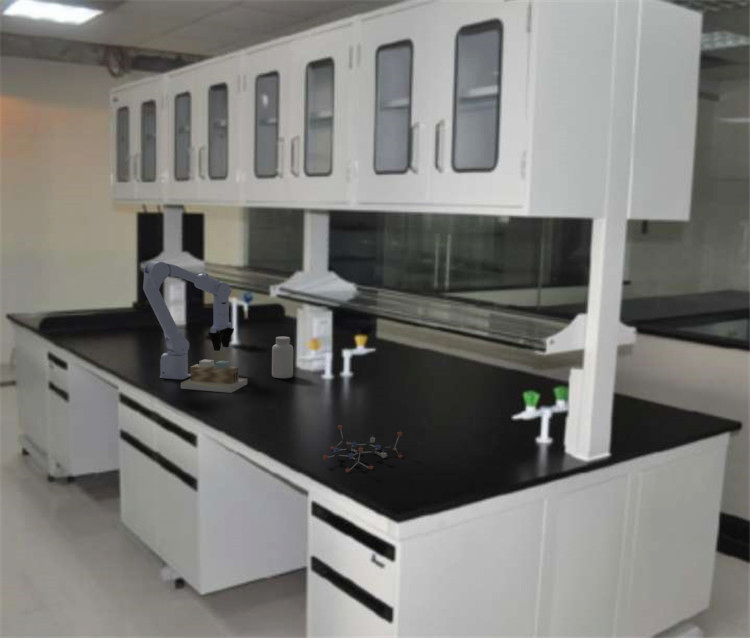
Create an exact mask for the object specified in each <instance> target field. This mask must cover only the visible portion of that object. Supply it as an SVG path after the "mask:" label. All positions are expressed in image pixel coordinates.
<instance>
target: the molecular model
mask: <svg viewBox="0 0 750 638" xmlns="http://www.w3.org/2000/svg"><path fill="white" fill-rule="evenodd" d="M337 428H338V429H337V430H340V434H341V441H340V442H339V443H338V444H335V446H333V445H334V444H332V443H331V446H330V447H329V449H330V451H333V453H334V454H333V455H329V456H328V455H327V454H326V452H324V454H323V455H322V460H328V458H332V457H335V458H339V457H348V459H350V460H352V459H353V460H354V462H355V464H354V465H352V467H351V468H349V467H347V468H345V473H350V472H351V470H352V469H353V468H354V467H355V466H356V465H357V464H361V465H362V466H364V467H366V468H367V469H368V470H370V471H371V470H374V465H372V464H370V465H368V466H367V465H365V464H364V463H362V462H360V456H361V455H362V454H365V453H366V454H370V453H371V454H373V455H375V454H376V455H378V456H380V457H381V458H382V459H384V458H386V457H388V454H387V452H386V451H385V450H384V449H383V448H386V449H387V446H384V447H383V446H381V444H380V443H379V442H377V444H375V445H373V444H371V443H375V442H376V437H374V435H372V436H371V437H370V438H369V440H367V441H365V443H357V441H356V440H355V439H353V441H349V442H348V439H347V438H346V437H344V435H343V432H342V429H343V425H342V424H338V425H337ZM396 434H397V436H398V437H397V438H396V442H395V444H394V443H393V442H391V443H390V444H389V449H390V450H392V451H393V452H396V453H397V456H396V457H397V458H398V459H402V458H403V455H402V452H399V453H398V450H397V444H398V442H399V439H400V437H402V435H403V432H402V431H401V430H399V431H397V432H396ZM342 443H343V444H346V445H347V447H346V448H339V447H338V446H339V445H340V444H342ZM357 446H359V447H358V449H354V448H356V447H357ZM362 446H367V447H372V448H371V449H370V451H363V450H364V448H363V447H362ZM381 448H382V449H383V450H382V452H378V451H379V450H381ZM346 450H347V451H348V452H350V453H348V455H347V454H346V455H344V454H341V453H340V452H339V451H346ZM353 452H354V453H353ZM357 455H358V457H354V456H357Z"/></svg>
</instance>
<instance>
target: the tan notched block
mask: <svg viewBox="0 0 750 638" xmlns="http://www.w3.org/2000/svg"><path fill="white" fill-rule="evenodd" d="M189 368H190V374H191V376H190V379H191V381H202V382H214V383H227V384H233V383H235V382H236V381H238V378H239V366H230V367H228V368H226V369H220V368H215V364H214V366H212V367H210V368H207V367H199V364H198V363H196V364H194V365H192V366H190V367H189Z"/></svg>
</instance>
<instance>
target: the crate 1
mask: <svg viewBox="0 0 750 638" xmlns="http://www.w3.org/2000/svg"><path fill="white" fill-rule="evenodd" d="M198 362H199V367H207V368H210V367H212V366H214V365H215V360H214V359H204V358H203V359H202V360H199V361H198Z"/></svg>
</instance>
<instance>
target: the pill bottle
mask: <svg viewBox="0 0 750 638" xmlns="http://www.w3.org/2000/svg"><path fill="white" fill-rule="evenodd" d="M290 343H291V337H289V336H284V335H283V336H276V337H275V344H274V345H272V347H271V348H272V349H271V376H272V377H273V378H276V379H289V378H293V376H294V346H293V345H292V344H290Z"/></svg>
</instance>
